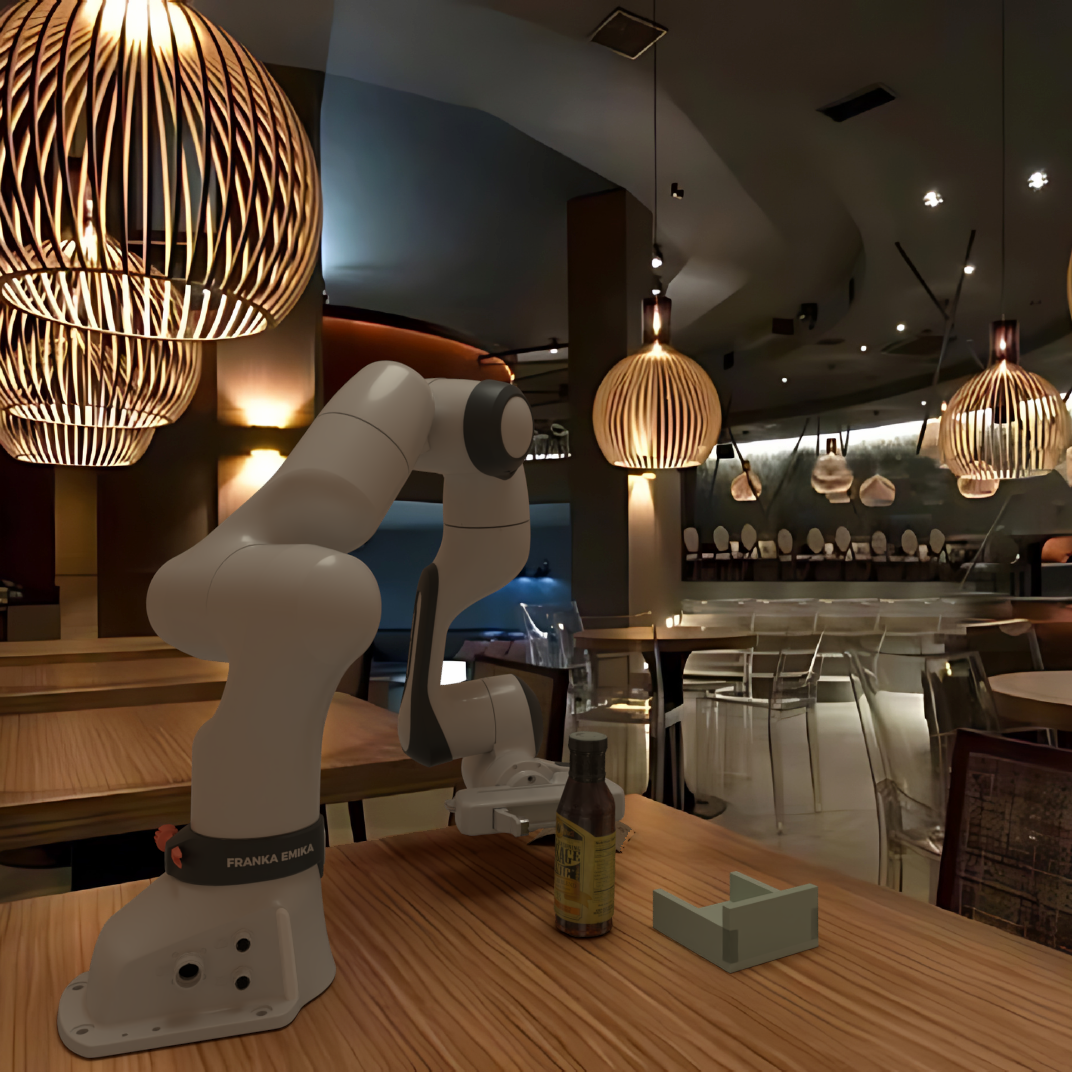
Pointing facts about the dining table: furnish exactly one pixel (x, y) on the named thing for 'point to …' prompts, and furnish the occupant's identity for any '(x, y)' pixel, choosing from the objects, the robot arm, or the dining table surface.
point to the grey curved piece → (620, 832)
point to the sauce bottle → (585, 842)
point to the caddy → (742, 923)
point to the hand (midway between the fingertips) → (563, 824)
